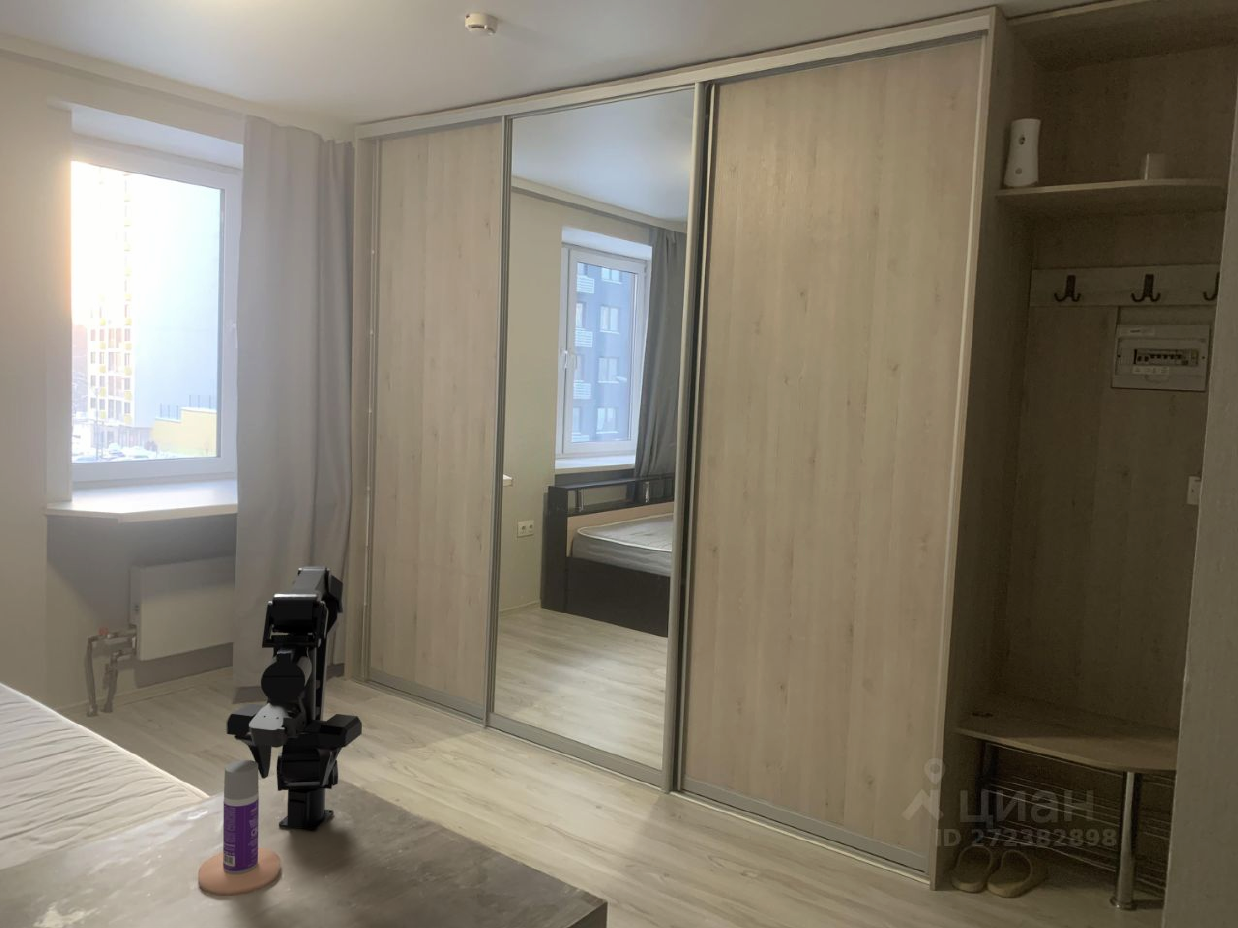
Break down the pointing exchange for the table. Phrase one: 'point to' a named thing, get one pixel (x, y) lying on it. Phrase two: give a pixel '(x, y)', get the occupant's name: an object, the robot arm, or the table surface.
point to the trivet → (238, 875)
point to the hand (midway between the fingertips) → (293, 781)
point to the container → (240, 817)
